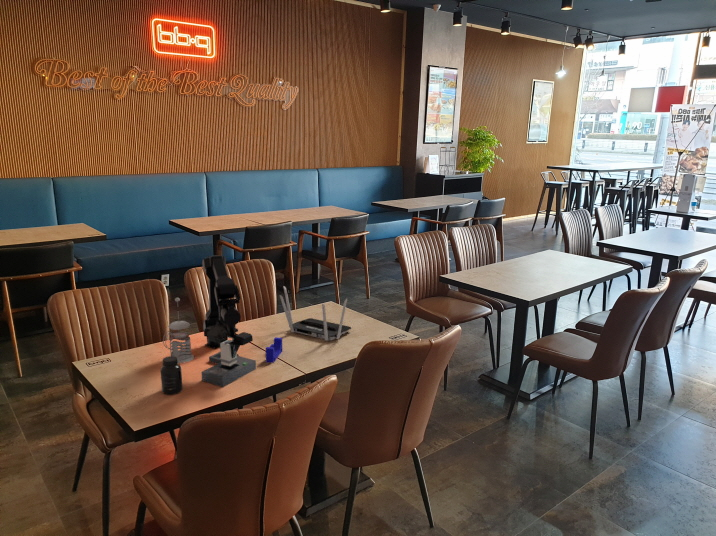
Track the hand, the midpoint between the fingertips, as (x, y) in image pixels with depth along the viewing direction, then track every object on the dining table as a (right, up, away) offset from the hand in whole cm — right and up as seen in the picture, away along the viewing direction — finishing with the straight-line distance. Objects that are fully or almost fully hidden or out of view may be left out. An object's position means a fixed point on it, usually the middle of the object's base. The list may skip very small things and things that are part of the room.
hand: (228, 356), depth 204 cm
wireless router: (+29, +3, +44) cm, 53 cm away
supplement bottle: (-17, -10, -11) cm, 23 cm away
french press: (-23, -3, +15) cm, 28 cm away
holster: (-5, -4, +14) cm, 16 cm away
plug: (0, -2, +1) cm, 2 cm away
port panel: (0, -7, +2) cm, 7 cm away
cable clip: (+13, -3, +19) cm, 23 cm away
